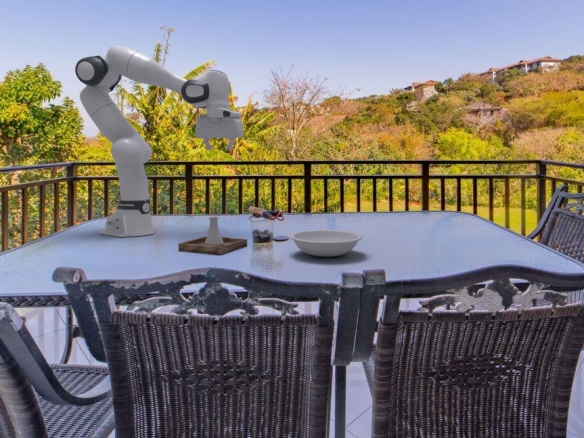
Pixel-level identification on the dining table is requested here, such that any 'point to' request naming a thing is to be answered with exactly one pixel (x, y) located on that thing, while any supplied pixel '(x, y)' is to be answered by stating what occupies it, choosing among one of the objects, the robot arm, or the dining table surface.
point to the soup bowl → (326, 241)
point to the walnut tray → (199, 246)
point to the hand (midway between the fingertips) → (219, 150)
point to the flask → (214, 234)
